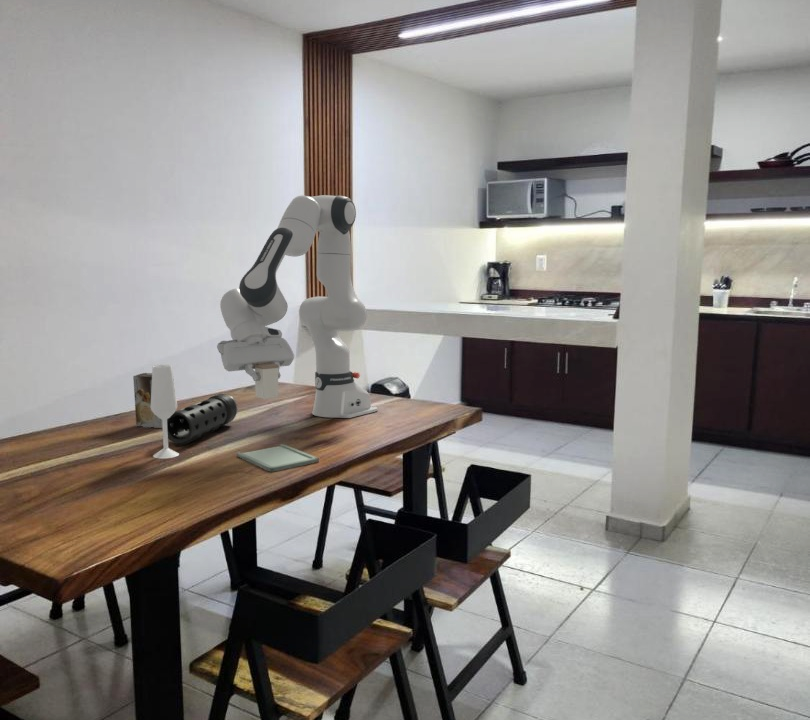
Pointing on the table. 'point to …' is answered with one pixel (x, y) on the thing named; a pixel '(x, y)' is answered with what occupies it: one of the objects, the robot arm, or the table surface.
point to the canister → (267, 381)
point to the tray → (278, 458)
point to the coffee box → (144, 402)
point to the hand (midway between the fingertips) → (267, 378)
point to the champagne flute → (163, 403)
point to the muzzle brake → (201, 418)
